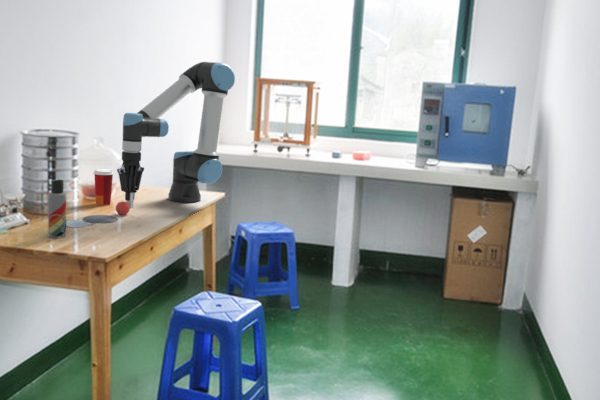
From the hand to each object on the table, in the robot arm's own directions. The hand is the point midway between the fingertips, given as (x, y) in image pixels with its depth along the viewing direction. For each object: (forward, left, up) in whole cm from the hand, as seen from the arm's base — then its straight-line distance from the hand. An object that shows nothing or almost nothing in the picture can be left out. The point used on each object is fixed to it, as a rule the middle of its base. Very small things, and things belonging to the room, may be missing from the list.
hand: (129, 207), depth 249 cm
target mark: (+15, 0, -2) cm, 16 cm away
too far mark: (+27, 0, -2) cm, 27 cm away
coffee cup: (-4, -20, -3) cm, 20 cm away
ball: (+4, 0, 0) cm, 4 cm away
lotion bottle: (+42, +9, -3) cm, 43 cm away
